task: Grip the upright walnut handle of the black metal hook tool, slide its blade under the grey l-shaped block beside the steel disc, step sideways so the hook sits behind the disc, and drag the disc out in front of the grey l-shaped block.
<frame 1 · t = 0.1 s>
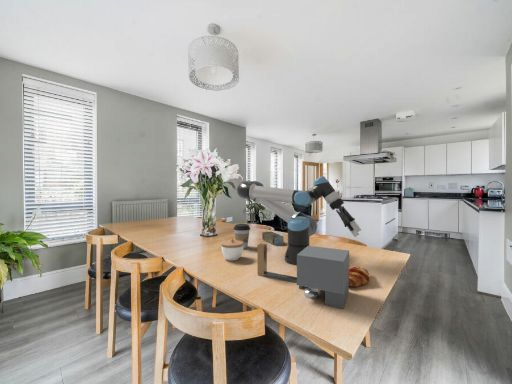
hand: (358, 233, 126), 15 cm above the table, tool tilted 35°, fingers open, 13 cm apart
beverage carton: (272, 242, 170), on the table
croissant: (357, 282, 100), on the table
lidded bowl: (232, 259, 132), on the table
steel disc: (311, 295, 87), on the table
coffee cup: (241, 247, 156), on the table
grey l-shaped block: (323, 294, 88), on the table
hook tool: (262, 274, 108), on the table
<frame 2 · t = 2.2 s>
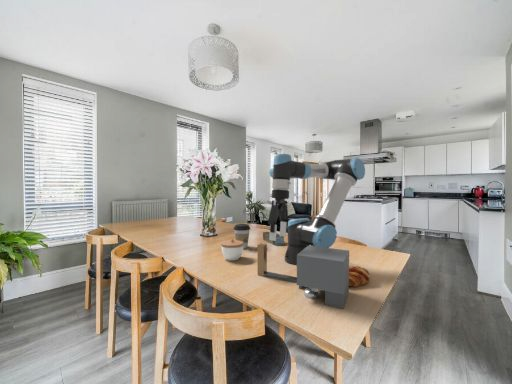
hand: (277, 238, 102), 18 cm above the table, tool pointing down, fingers open, 13 cm apart
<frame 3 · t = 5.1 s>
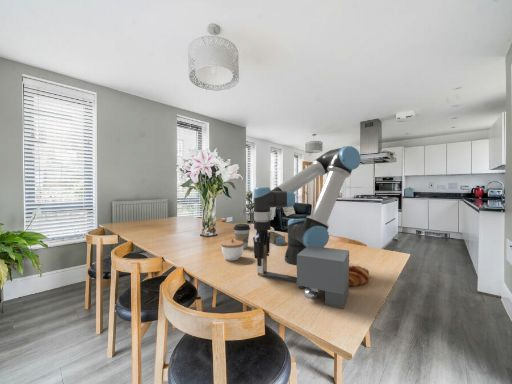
hand: (262, 271, 108), 2 cm above the table, tool pointing down, fingers closed on hook tool, 3 cm apart
hook tool: (262, 274, 108), on the table, touching gripper
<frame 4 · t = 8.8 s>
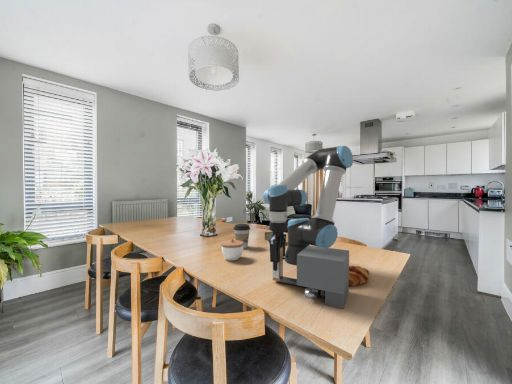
hand: (277, 275, 100), 3 cm above the table, tool pointing down, fingers closed on hook tool, 3 cm apart
hook tool: (277, 279, 100), point 1 cm above the table, touching gripper
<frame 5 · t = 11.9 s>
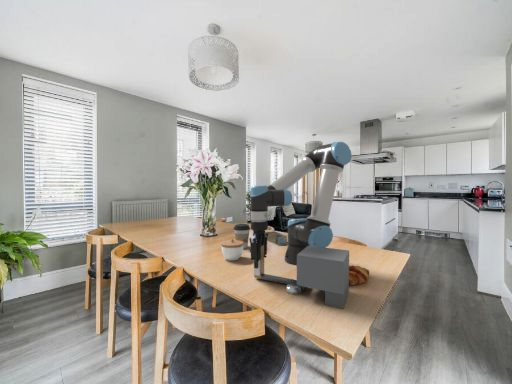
hand: (259, 273, 103), 2 cm above the table, tool pointing down, fingers closed on hook tool, 3 cm apart
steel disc: (292, 291, 91), on the table
hook tool: (259, 277, 103), point 1 cm above the table, touching gripper
when the fingers open (2 cm above the table, at t = 12.7 s): hook tool stays where it is, on the table.
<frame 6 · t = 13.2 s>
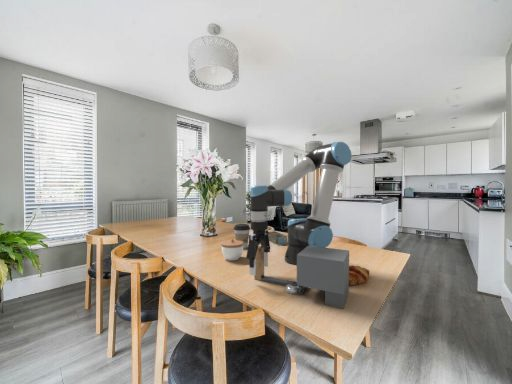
hand: (259, 270, 103), 4 cm above the table, tool pointing down, fingers open, 11 cm apart
hook tool: (259, 278, 103), on the table
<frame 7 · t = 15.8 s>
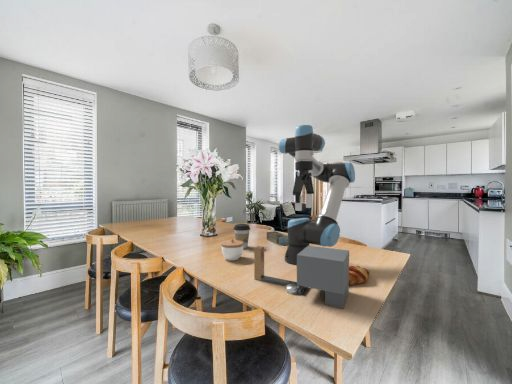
hand: (303, 209, 104), 31 cm above the table, tool pointing down, fingers open, 13 cm apart
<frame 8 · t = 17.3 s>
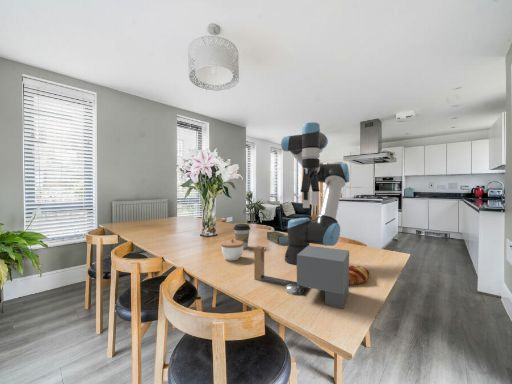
hand: (310, 206, 104), 32 cm above the table, tool pointing down, fingers open, 13 cm apart
at the end: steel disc inside the target area (6.7 cm from its centre), on the table; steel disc tilted 0°; the gripper is holding nothing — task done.
